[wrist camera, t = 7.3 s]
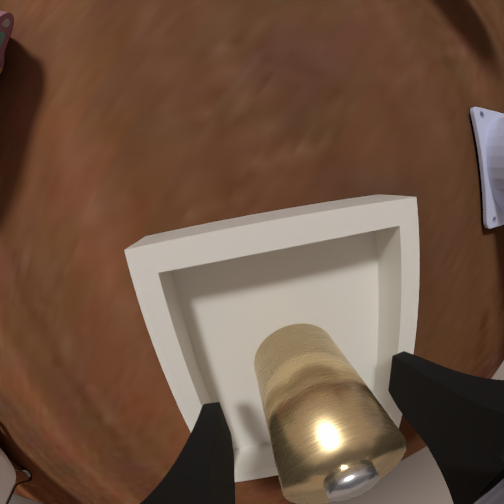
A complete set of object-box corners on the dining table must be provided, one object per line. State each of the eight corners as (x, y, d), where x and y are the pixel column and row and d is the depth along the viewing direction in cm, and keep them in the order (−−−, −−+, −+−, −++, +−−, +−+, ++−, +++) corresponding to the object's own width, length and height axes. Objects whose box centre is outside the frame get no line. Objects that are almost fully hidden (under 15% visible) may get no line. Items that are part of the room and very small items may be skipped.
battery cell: (332, 314, 12) (429, 424, 5) (335, 379, 13) (401, 488, 6) (246, 334, 12) (278, 480, 5) (260, 398, 13) (291, 526, 6)
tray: (378, 194, 13) (416, 196, 10) (377, 408, 16) (396, 435, 13) (145, 236, 12) (124, 249, 9) (217, 449, 15) (219, 483, 12)
